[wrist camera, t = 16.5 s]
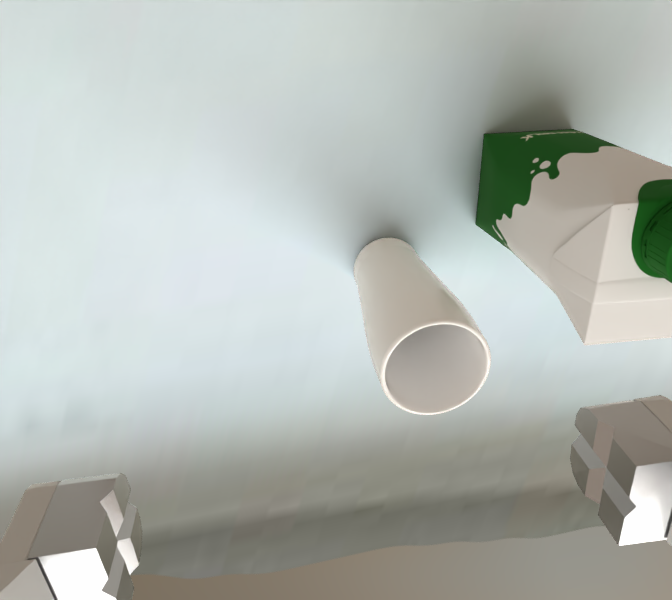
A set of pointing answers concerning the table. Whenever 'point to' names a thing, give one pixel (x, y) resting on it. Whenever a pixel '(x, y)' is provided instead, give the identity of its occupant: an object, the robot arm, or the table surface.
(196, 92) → the table surface
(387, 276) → the drinking glass
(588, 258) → the milk carton
